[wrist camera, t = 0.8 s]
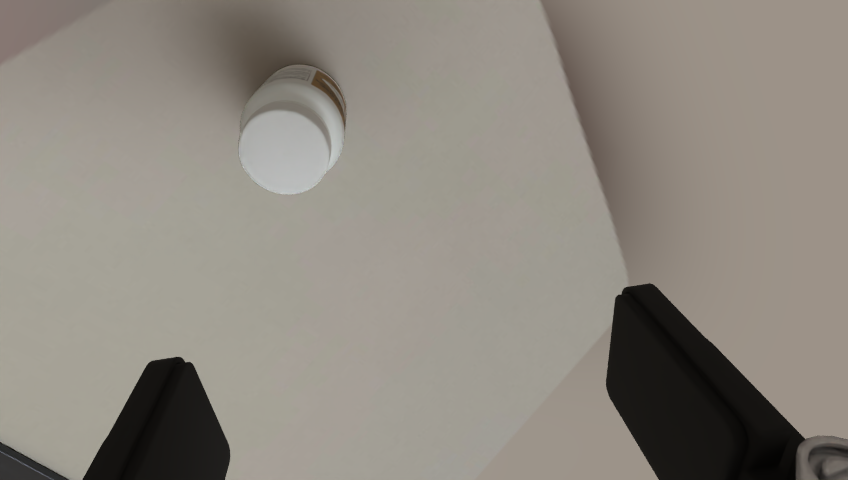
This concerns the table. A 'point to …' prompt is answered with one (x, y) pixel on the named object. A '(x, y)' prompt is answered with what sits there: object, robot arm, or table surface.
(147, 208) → the table surface
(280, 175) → the pill bottle
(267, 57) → the table surface
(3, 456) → the knife
